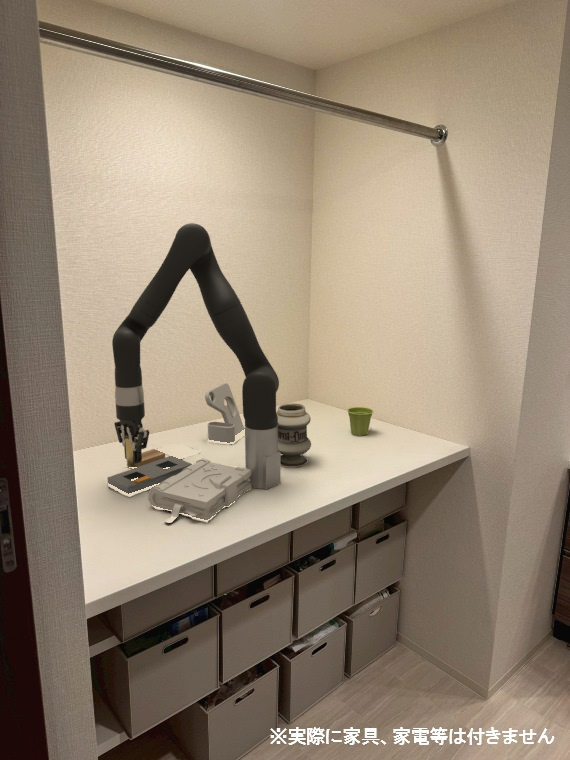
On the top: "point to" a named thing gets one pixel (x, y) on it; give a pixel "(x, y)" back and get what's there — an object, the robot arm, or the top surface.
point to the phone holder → (229, 413)
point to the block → (151, 456)
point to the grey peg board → (148, 474)
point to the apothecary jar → (293, 434)
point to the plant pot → (359, 420)
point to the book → (201, 489)
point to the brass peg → (130, 453)
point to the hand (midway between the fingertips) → (133, 460)
